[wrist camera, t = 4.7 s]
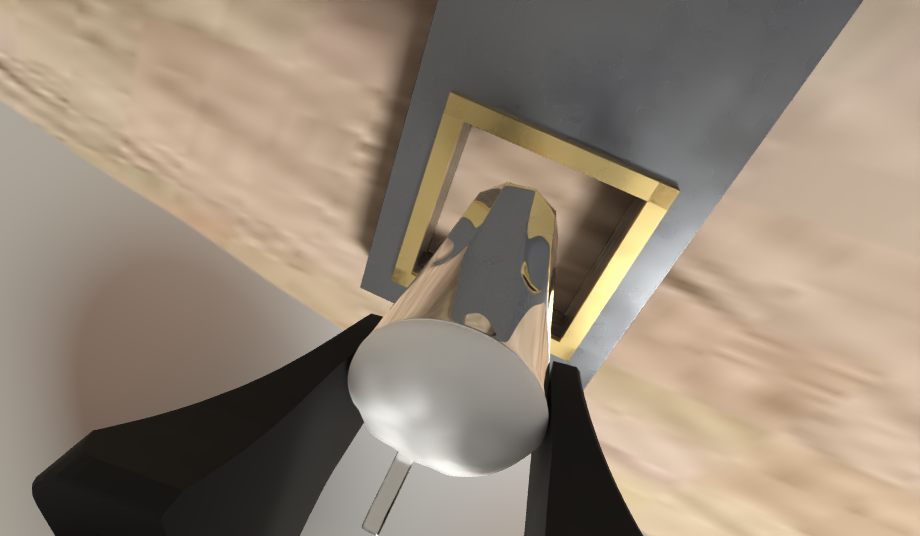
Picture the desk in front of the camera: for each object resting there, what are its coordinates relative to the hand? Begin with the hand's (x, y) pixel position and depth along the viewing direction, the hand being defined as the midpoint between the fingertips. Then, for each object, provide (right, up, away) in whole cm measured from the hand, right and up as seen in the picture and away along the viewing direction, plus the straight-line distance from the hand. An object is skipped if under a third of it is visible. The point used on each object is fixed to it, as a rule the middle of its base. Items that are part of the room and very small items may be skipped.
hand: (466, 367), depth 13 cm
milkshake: (+2, +4, +4) cm, 6 cm away
